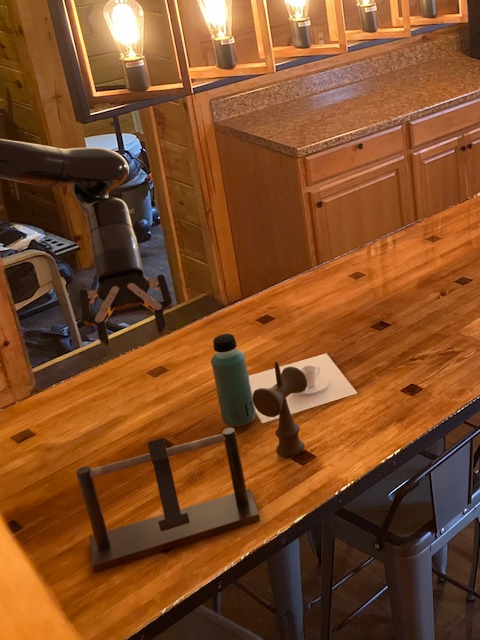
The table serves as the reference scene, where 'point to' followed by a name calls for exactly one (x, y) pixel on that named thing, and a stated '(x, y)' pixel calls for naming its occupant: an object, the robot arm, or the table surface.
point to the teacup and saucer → (320, 389)
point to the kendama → (282, 407)
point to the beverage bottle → (232, 382)
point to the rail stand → (147, 534)
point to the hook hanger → (166, 486)
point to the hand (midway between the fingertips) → (134, 338)
